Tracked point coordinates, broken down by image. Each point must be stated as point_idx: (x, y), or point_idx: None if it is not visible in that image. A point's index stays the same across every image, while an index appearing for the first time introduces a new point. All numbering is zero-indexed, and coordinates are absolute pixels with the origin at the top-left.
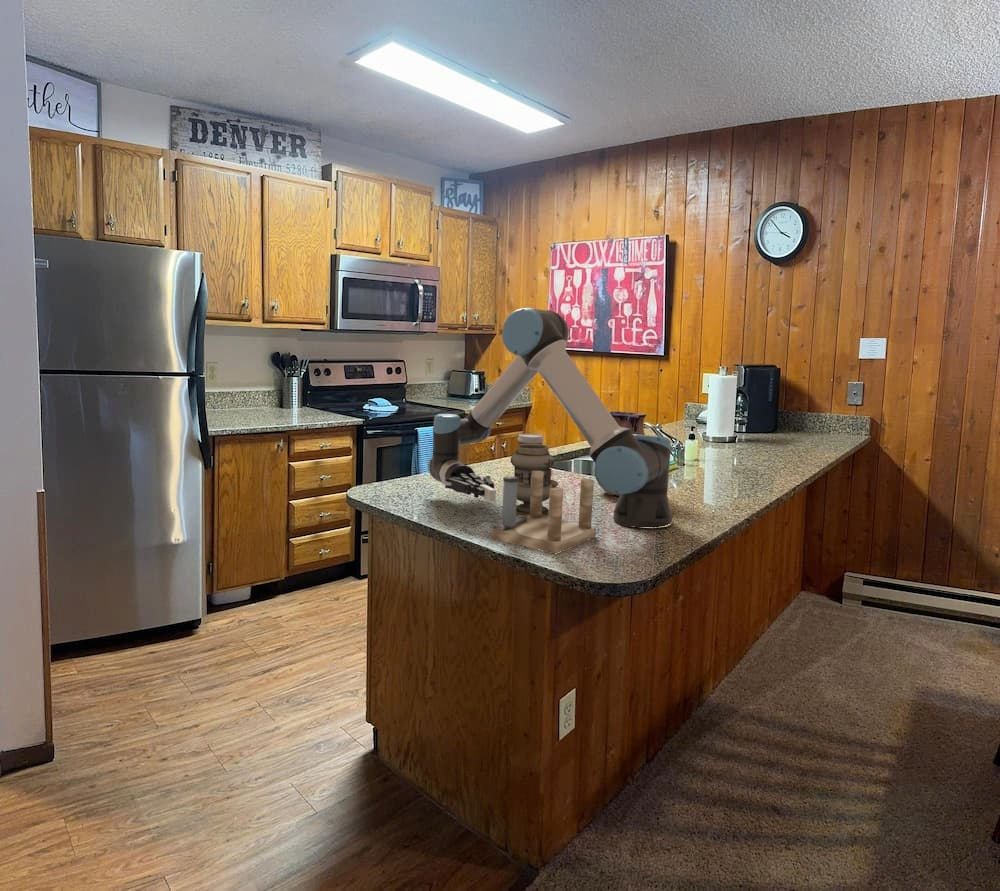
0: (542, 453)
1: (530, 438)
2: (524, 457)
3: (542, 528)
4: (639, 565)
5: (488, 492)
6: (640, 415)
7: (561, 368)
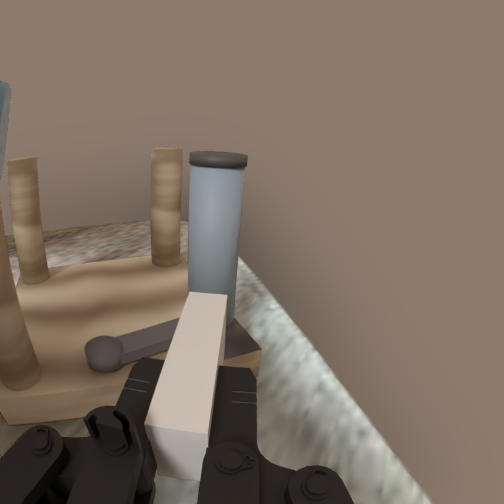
0: None
1: None
2: None
3: (119, 301)
4: (114, 231)
5: (224, 325)
6: None
7: None
